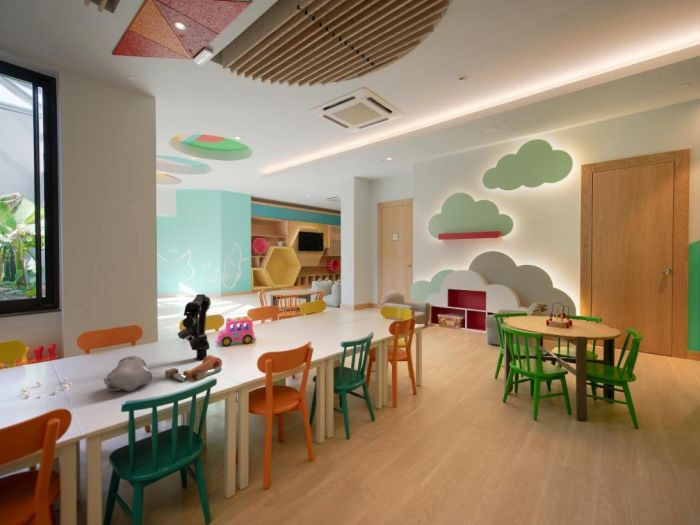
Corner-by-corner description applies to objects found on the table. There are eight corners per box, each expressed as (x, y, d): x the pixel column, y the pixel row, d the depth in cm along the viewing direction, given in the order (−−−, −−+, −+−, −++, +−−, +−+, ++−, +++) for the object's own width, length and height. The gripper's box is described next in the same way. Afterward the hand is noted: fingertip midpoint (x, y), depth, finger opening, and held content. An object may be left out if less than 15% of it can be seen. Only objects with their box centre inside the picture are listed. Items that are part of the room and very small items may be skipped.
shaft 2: (197, 381, 177) (197, 373, 177) (192, 379, 179) (191, 372, 179) (222, 371, 190) (222, 365, 190) (217, 370, 193) (217, 363, 193)
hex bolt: (165, 377, 181) (165, 370, 181) (174, 374, 185) (174, 367, 185) (179, 383, 173) (179, 376, 173) (188, 380, 178) (188, 373, 178)
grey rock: (104, 402, 154) (106, 373, 152) (101, 383, 167) (103, 356, 165) (152, 393, 168) (155, 366, 165) (147, 376, 180) (149, 351, 178)
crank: (214, 366, 199) (214, 353, 199) (222, 369, 195) (222, 356, 195) (182, 376, 183) (181, 363, 183) (189, 380, 178) (189, 366, 178)
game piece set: (19, 390, 163) (19, 383, 163) (71, 379, 177) (71, 372, 177) (18, 404, 150) (18, 396, 149) (75, 391, 164) (74, 383, 163)
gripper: (170, 324, 191) (171, 350, 191) (189, 328, 181) (189, 356, 182) (188, 320, 200) (189, 345, 201) (207, 324, 190) (207, 351, 191)
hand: (193, 349), depth 193 cm, fingers closed
